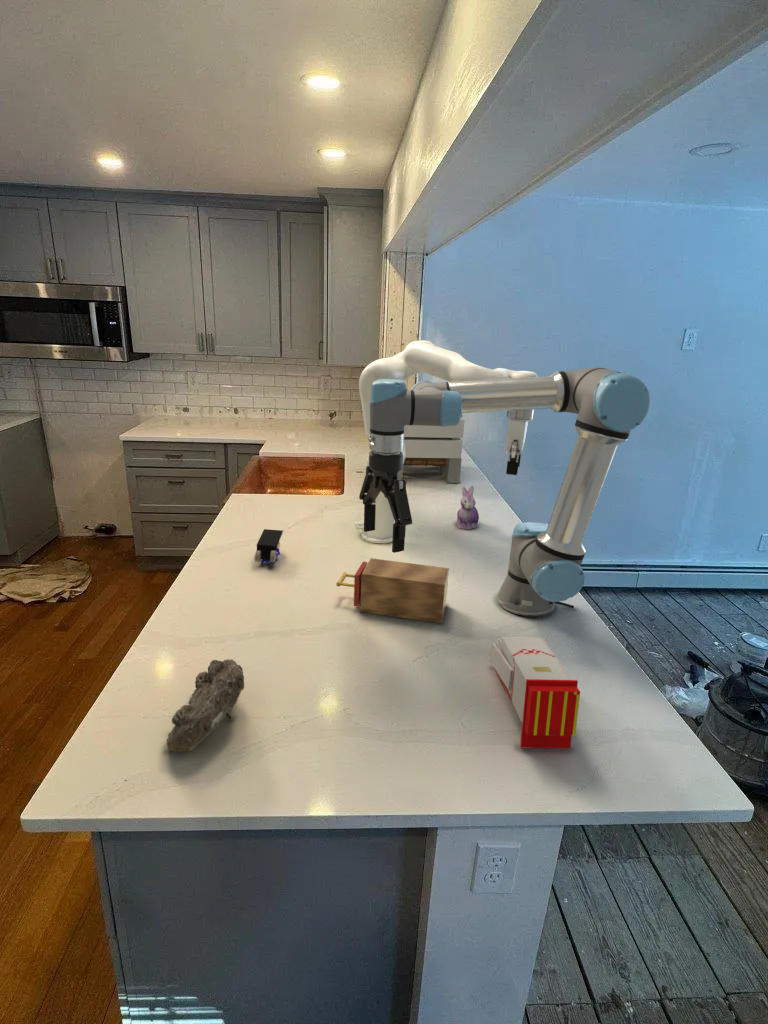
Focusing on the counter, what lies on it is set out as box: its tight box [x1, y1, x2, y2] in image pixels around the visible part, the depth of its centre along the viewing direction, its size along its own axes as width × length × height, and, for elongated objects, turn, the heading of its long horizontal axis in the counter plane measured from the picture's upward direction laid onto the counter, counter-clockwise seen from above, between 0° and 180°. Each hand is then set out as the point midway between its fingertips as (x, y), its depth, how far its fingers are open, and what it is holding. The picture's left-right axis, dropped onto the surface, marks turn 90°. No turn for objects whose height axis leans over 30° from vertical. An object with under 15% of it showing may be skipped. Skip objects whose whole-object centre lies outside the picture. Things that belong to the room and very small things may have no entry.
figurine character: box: [254, 528, 284, 568], centre depth 174 cm, size 7×8×15 cm
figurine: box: [455, 485, 480, 530], centre depth 208 cm, size 9×10×15 cm
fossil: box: [166, 658, 245, 754], centre depth 106 cm, size 22×10×15 cm
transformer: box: [397, 413, 465, 484], centre depth 268 cm, size 34×33×41 cm
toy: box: [489, 636, 581, 749], centre depth 115 cm, size 12×13×30 cm
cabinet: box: [360, 557, 450, 624], centre depth 149 cm, size 21×10×11 cm, turn 78°
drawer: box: [335, 561, 368, 608], centre depth 150 cm, size 25×9×9 cm, turn 78°
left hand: (512, 470), depth 173 cm, fingers open, 9 cm apart
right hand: (383, 540), depth 132 cm, fingers open, 13 cm apart
